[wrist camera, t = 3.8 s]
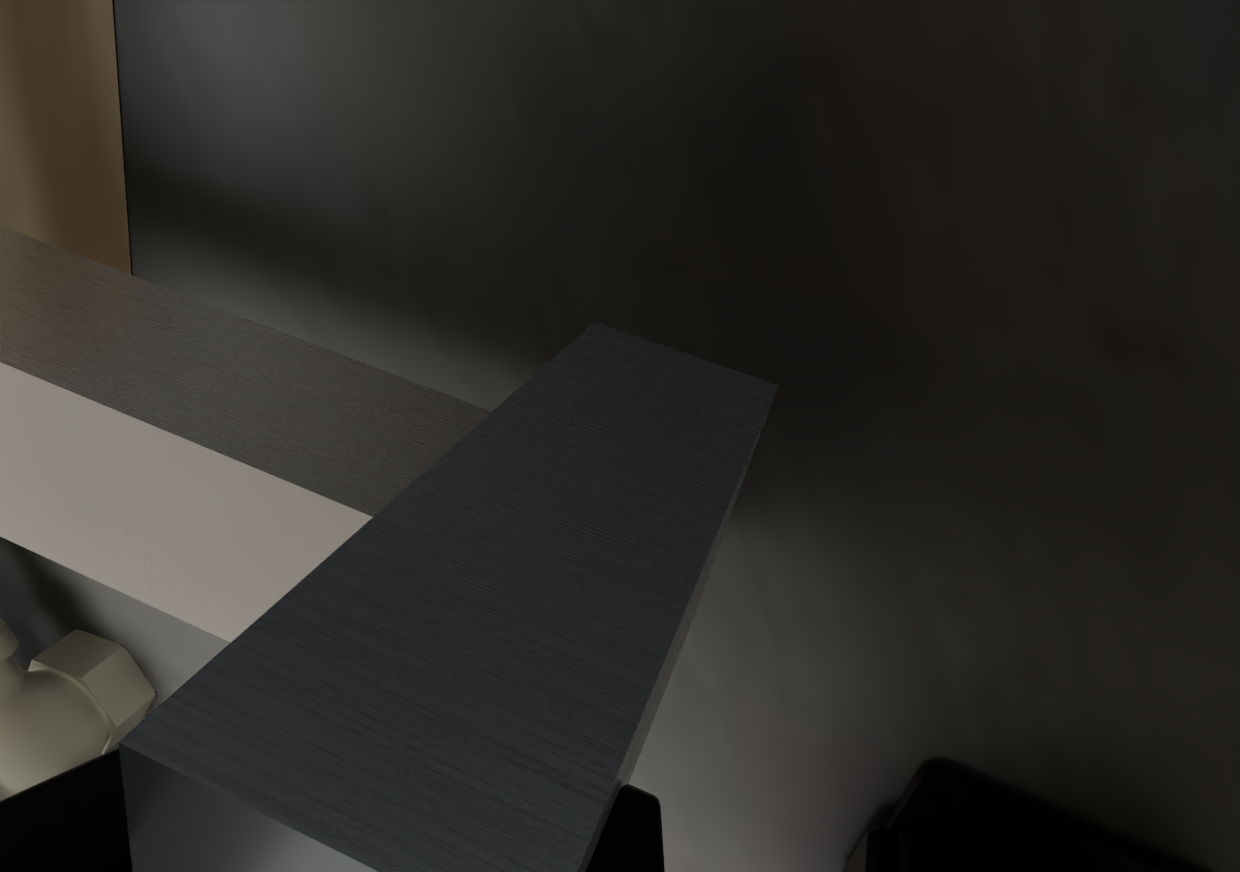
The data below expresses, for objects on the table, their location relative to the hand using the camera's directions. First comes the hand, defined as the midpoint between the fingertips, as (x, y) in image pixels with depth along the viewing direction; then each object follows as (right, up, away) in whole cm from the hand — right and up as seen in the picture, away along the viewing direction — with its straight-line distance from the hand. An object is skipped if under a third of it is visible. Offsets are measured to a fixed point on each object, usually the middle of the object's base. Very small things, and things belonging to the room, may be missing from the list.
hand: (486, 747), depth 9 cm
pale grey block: (-5, +5, +6) cm, 9 cm away
